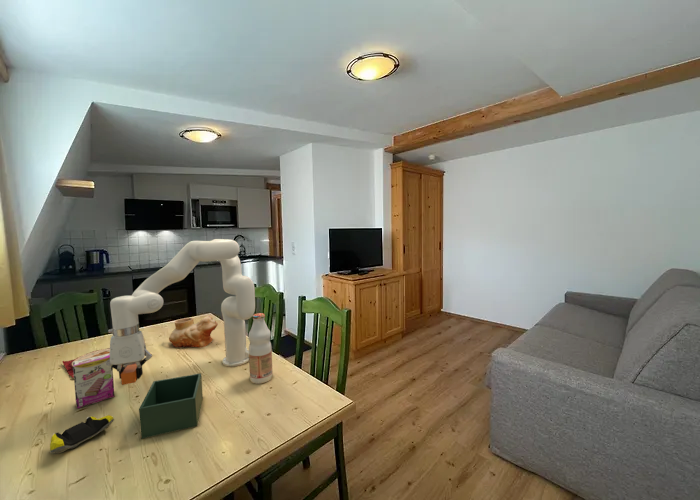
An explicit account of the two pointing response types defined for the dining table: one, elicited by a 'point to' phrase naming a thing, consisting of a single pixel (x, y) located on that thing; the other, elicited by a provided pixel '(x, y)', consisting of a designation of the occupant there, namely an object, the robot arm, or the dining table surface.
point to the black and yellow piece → (79, 433)
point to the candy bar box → (93, 380)
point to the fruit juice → (260, 350)
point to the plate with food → (89, 355)
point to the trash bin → (171, 405)
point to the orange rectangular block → (129, 374)
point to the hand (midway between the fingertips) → (131, 378)
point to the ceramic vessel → (192, 332)
